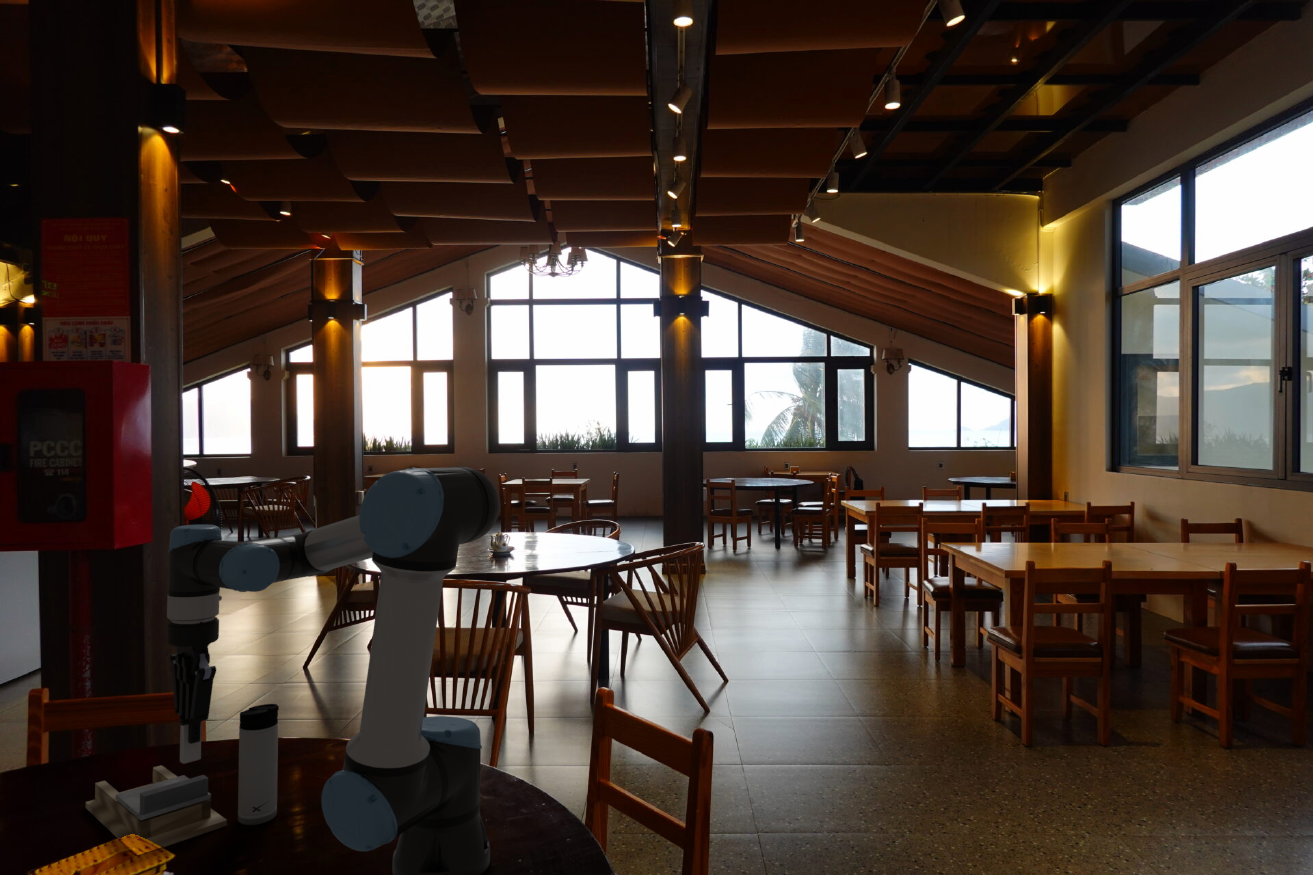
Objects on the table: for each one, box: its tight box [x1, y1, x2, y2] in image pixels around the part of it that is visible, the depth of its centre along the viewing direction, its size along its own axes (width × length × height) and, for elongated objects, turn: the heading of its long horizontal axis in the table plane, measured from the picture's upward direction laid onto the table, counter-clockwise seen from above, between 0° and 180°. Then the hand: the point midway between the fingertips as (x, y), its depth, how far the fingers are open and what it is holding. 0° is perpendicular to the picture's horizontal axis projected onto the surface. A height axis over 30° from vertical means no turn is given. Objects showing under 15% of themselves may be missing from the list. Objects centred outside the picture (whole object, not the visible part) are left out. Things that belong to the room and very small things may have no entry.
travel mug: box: [237, 703, 280, 826], centre depth 147 cm, size 6×7×20 cm
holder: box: [84, 765, 228, 848], centre depth 146 cm, size 26×14×4 cm, turn 50°
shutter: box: [116, 774, 212, 820], centre depth 144 cm, size 12×11×4 cm
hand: (190, 759), depth 136 cm, fingers closed
